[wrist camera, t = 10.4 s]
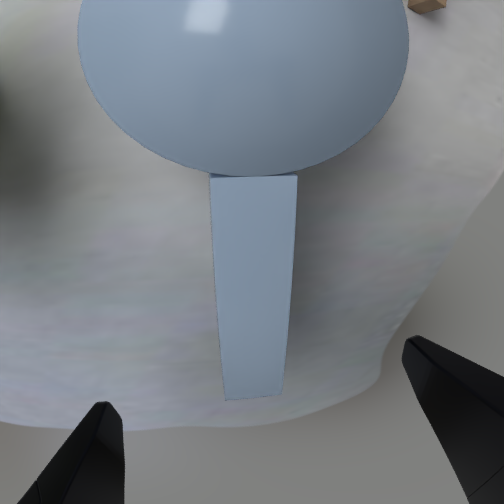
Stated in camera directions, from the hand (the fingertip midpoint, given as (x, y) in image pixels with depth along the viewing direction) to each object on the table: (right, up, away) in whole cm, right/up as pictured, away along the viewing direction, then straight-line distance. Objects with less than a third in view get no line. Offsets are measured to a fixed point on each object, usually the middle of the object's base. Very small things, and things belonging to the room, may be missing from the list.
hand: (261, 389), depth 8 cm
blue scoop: (-1, +8, +5) cm, 10 cm away
